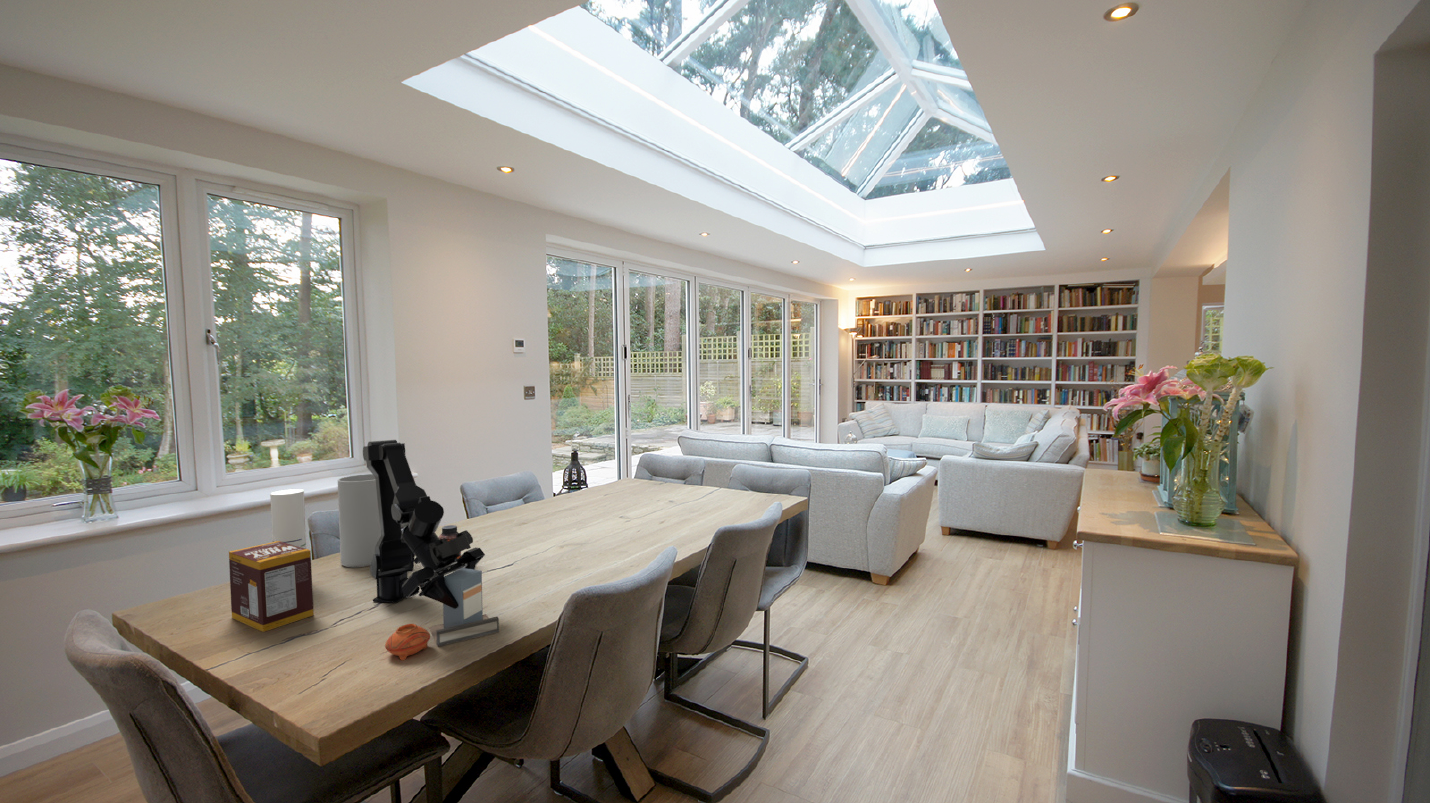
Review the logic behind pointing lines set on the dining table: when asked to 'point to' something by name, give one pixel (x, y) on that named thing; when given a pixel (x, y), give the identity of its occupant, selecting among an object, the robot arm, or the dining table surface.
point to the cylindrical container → (288, 517)
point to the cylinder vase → (358, 519)
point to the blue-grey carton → (464, 597)
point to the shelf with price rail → (464, 631)
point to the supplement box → (271, 585)
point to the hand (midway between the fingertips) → (468, 601)
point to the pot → (407, 640)
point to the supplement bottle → (449, 534)
